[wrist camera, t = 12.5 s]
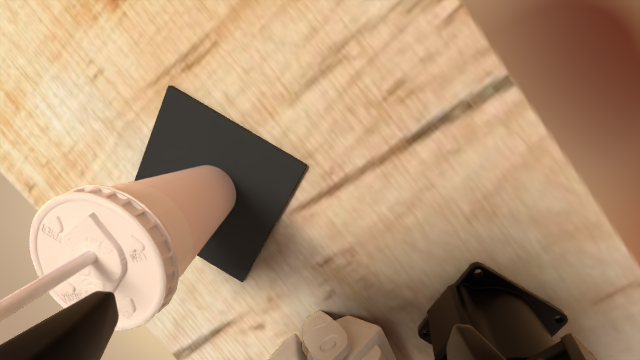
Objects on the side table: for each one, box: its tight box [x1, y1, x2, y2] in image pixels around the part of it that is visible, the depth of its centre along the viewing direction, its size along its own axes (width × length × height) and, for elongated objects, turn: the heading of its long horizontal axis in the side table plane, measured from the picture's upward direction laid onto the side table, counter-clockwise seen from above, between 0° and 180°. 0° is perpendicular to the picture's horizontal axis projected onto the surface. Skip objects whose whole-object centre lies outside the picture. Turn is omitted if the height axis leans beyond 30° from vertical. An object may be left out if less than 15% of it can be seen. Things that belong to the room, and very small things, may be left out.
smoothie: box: [0, 165, 236, 330], centre depth 17 cm, size 6×6×14 cm
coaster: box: [135, 86, 307, 282], centre depth 23 cm, size 10×10×1 cm
